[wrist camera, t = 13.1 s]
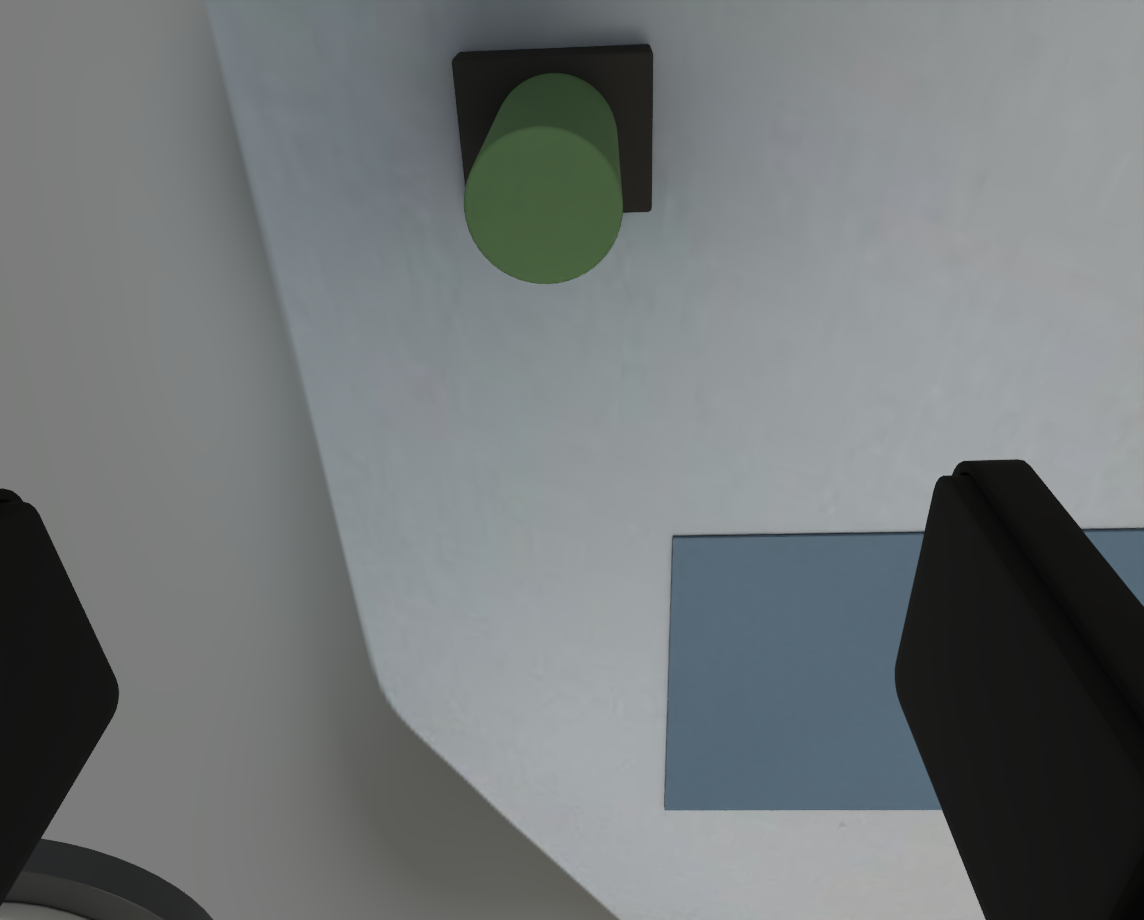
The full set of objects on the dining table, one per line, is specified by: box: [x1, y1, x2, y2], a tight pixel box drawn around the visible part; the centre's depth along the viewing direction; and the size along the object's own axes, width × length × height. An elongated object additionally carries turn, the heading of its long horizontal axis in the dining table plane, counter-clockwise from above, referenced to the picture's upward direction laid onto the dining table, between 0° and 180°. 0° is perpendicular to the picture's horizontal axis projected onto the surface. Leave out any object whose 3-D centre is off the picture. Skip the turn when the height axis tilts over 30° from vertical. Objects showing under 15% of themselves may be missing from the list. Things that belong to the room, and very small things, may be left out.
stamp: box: [452, 44, 653, 284], centre depth 20 cm, size 5×4×7 cm
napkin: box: [665, 529, 1144, 810], centre depth 35 cm, size 21×16×1 cm
